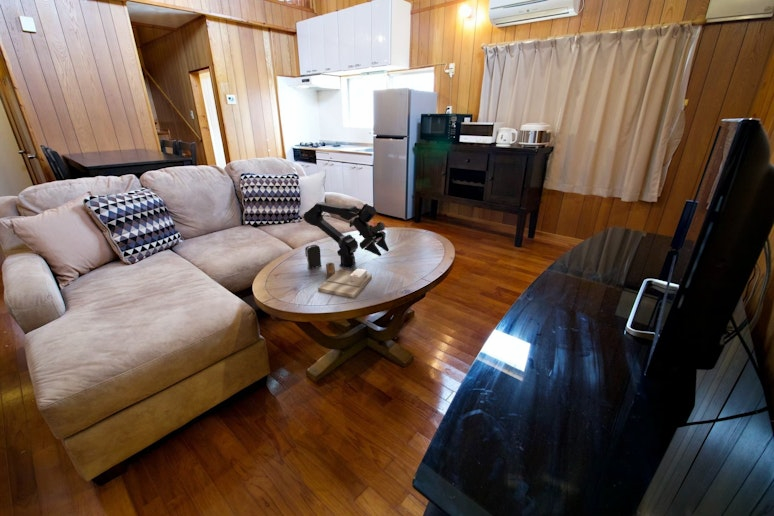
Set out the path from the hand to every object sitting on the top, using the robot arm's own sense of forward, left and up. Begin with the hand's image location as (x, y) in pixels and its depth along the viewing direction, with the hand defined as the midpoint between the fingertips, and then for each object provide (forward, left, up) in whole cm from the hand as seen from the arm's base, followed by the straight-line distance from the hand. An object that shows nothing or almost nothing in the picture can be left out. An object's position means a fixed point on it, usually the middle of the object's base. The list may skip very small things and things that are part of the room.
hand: (384, 253), depth 155 cm
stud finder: (-9, -10, -10) cm, 17 cm away
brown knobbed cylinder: (-24, -10, -11) cm, 28 cm away
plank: (-13, -15, -11) cm, 23 cm away
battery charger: (-37, -4, -11) cm, 39 cm away
